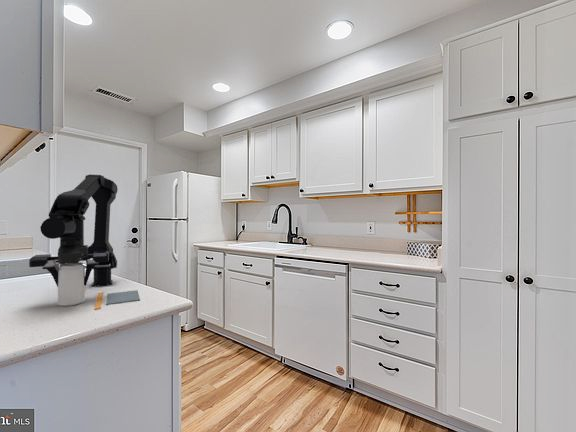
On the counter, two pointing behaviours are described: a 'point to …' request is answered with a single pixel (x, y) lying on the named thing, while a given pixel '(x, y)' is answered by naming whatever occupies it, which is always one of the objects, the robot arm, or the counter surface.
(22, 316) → the counter surface
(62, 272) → the can
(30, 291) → the counter surface
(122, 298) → the mat
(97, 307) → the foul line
